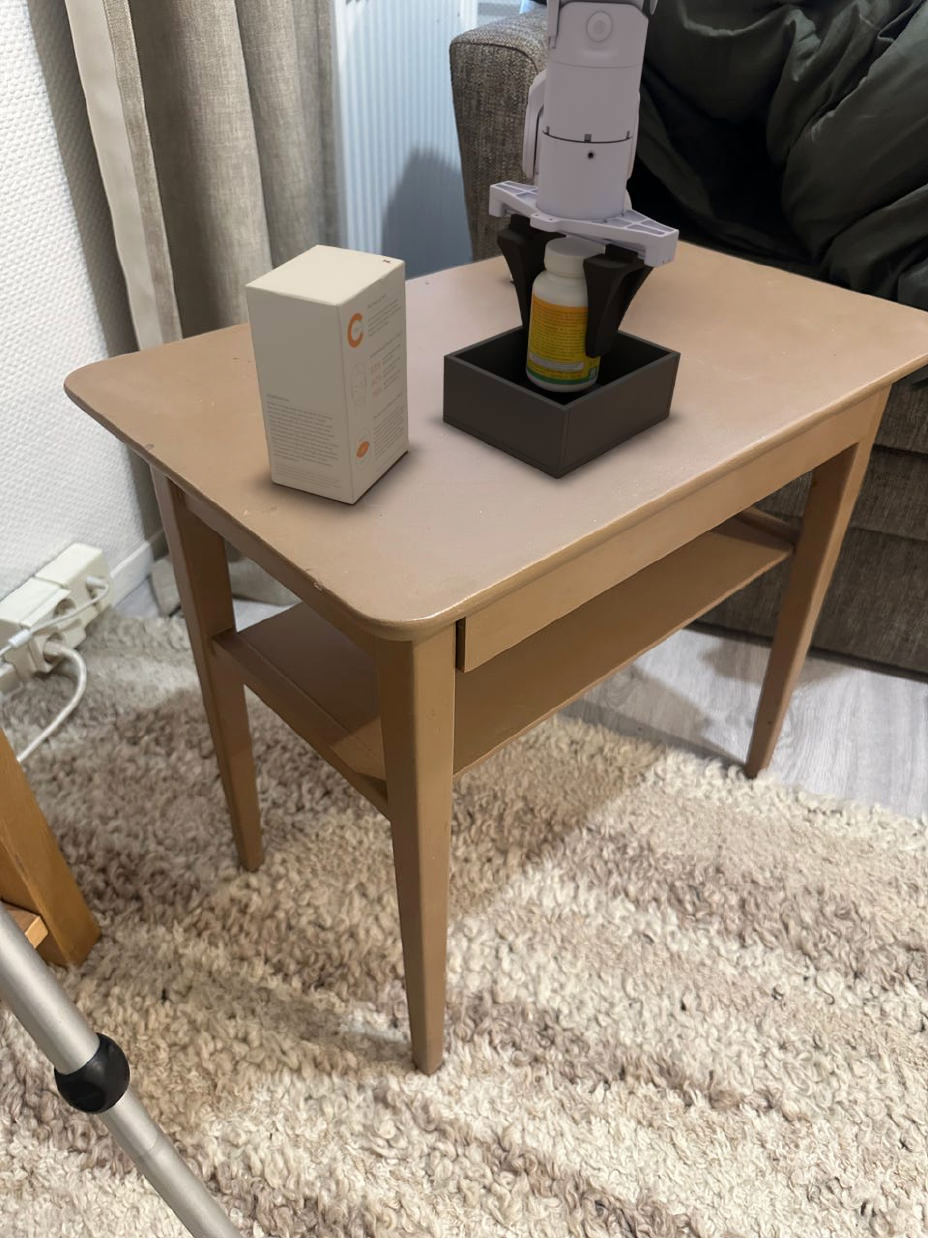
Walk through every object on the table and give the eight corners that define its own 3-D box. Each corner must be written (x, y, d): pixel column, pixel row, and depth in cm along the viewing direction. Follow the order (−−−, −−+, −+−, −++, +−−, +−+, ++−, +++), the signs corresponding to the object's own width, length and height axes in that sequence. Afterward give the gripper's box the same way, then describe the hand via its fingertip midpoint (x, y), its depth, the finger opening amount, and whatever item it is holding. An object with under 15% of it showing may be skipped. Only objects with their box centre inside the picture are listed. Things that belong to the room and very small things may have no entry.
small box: (331, 429, 64) (317, 241, 56) (411, 449, 62) (408, 258, 54) (268, 483, 59) (241, 282, 50) (352, 507, 57) (340, 303, 48)
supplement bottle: (527, 360, 69) (537, 230, 63) (597, 365, 69) (614, 235, 63) (523, 391, 65) (533, 256, 59) (597, 397, 65) (615, 261, 59)
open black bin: (556, 368, 73) (562, 308, 70) (669, 416, 67) (681, 352, 64) (442, 420, 66) (443, 355, 63) (557, 478, 60) (564, 410, 57)
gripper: (460, 120, 58) (456, 324, 67) (643, 166, 50) (611, 390, 59) (532, 106, 62) (519, 301, 71) (712, 147, 54) (672, 360, 63)
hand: (565, 340), depth 65 cm, fingers closed on supplement bottle, 5 cm apart
